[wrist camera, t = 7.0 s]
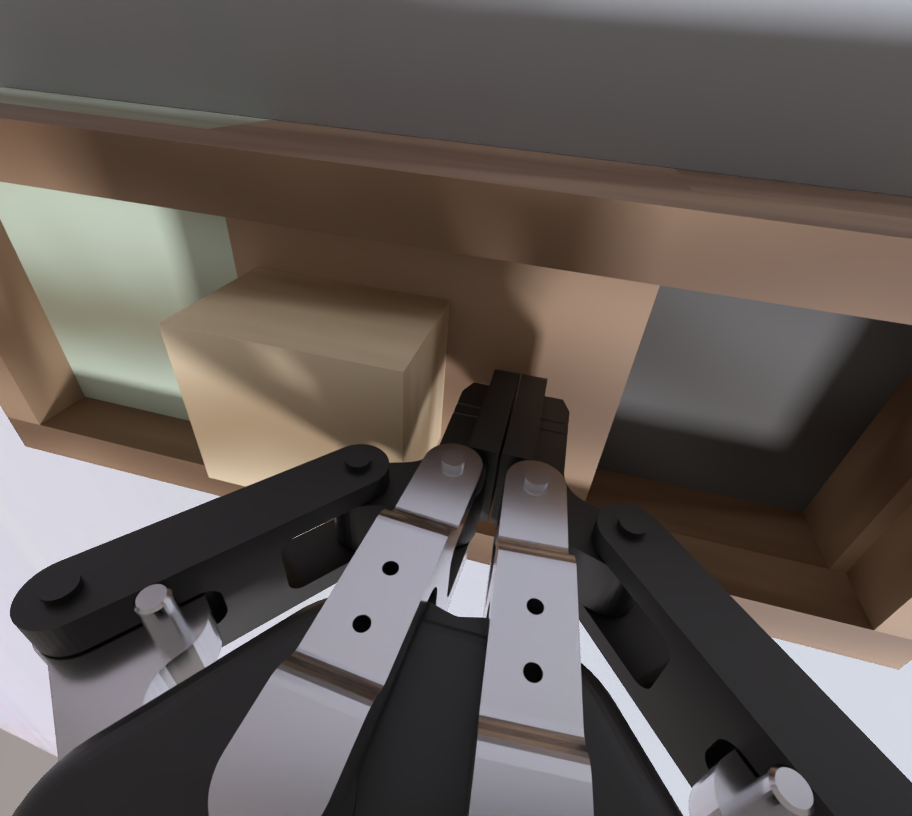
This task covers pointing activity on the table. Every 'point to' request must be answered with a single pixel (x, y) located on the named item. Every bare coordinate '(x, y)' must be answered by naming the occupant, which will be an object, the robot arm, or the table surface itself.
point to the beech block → (307, 372)
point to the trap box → (503, 324)
